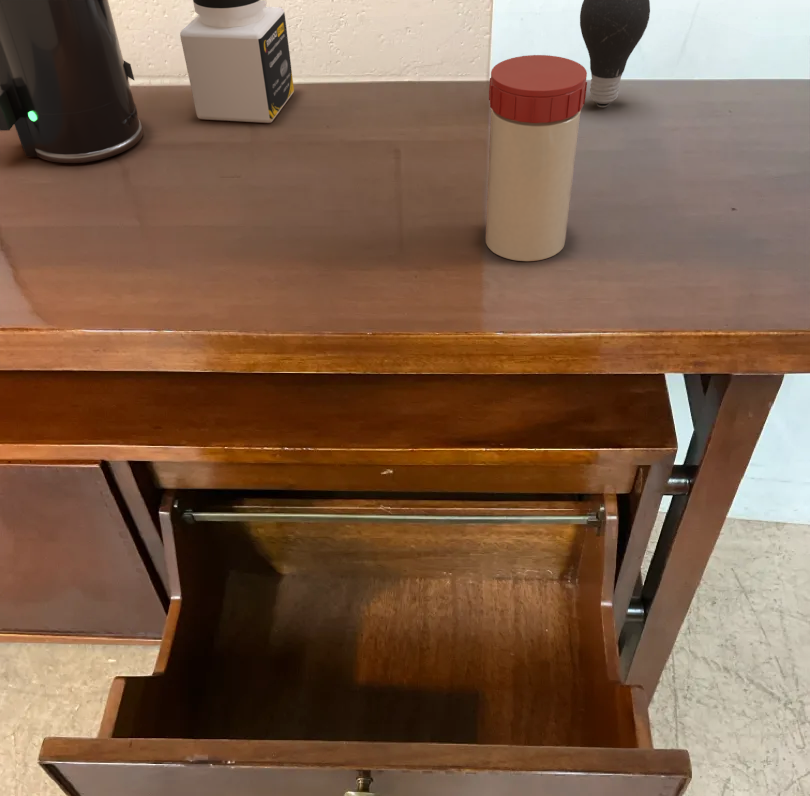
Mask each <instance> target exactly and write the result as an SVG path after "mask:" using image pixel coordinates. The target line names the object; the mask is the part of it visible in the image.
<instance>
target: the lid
mask: <svg viewBox="0 0 810 796" xmlns="http://www.w3.org/2000/svg"><path fill="white" fill-rule="evenodd" d="M587 77H588V72H587V70H586V68H585V66H583V64H580V63H579V62H577V61H575V60H573V59H569V58H567V57H562V56H556V55H548V54H547V55H546V54H529V55H520V56H514V57H510V58H508V59H505V60H502V61H500V62H498V63H497V64H495V65H494V66H493V68H492V69H491V71H490V78H489V84H488V85H489V88H488V101H489V108H490V110H491V109H492V110H493V111H494V112H495V113H496V114H498V115H500V116H502V117H504V118H507V119H511V120H515V121H519V122H528V123H548V122H555V121H560V120H564V119H567V118H570V117H572V116H574V115H575V114H577V113H578V112H580V110H581V111H582V108H583V107H584V105H585V103H586V97H587V89H588V81H587Z"/></svg>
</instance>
